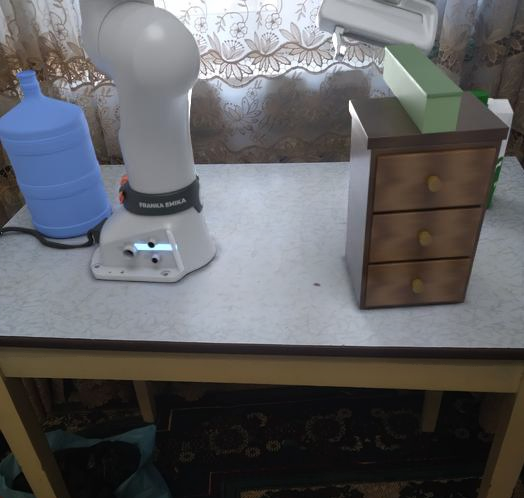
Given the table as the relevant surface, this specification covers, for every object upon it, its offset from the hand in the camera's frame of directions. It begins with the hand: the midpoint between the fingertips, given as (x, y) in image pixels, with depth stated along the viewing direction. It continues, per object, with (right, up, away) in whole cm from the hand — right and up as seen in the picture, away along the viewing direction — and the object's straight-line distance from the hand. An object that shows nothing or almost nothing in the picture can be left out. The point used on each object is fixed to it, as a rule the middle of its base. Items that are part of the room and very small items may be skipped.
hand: (365, 66), depth 89 cm
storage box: (+4, -14, -17) cm, 22 cm away
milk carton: (+24, -18, +16) cm, 34 cm away
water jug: (-56, -21, +20) cm, 63 cm away
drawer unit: (+5, -36, -3) cm, 37 cm away
